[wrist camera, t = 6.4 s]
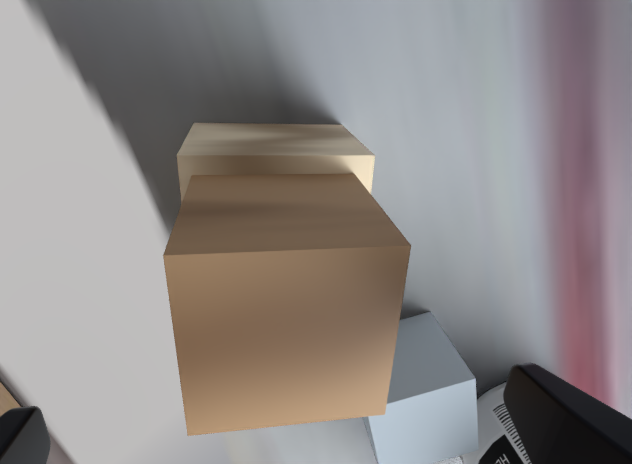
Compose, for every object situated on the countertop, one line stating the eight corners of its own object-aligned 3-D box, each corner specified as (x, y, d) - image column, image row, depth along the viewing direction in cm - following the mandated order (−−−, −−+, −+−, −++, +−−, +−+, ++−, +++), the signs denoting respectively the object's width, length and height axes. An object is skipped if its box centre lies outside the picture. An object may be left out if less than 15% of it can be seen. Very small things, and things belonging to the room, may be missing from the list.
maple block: (341, 123, 17) (374, 155, 13) (332, 249, 20) (358, 311, 16) (194, 122, 17) (176, 155, 12) (204, 254, 19) (193, 322, 15)
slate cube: (429, 310, 23) (475, 378, 18) (436, 375, 25) (478, 450, 20) (342, 335, 22) (366, 409, 18) (356, 398, 25) (381, 478, 20)
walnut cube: (343, 303, 15) (384, 414, 11) (204, 312, 15) (187, 435, 10) (354, 173, 13) (411, 245, 9) (191, 175, 12) (163, 255, 8)
